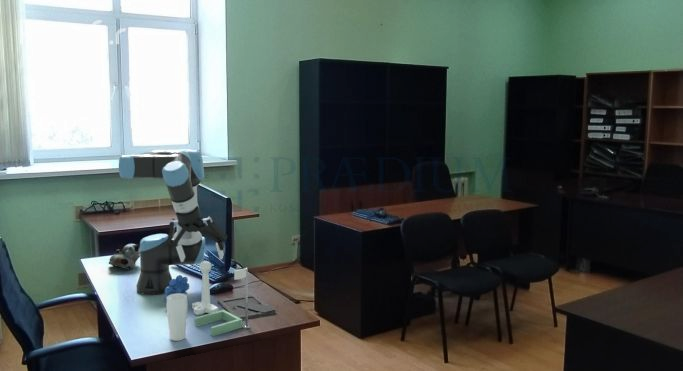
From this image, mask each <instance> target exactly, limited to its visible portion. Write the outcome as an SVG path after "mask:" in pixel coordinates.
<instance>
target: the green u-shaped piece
mask: <svg viewBox="0 0 683 371" xmlns="http://www.w3.org/2000/svg"><path fill="white" fill-rule="evenodd" d="M221 320H224V321H226V322H223V323H219V324H217V325H213V326H210V336H212V337H215V336H218V335H222V334H224V333H228V332H231V331H235V330H238V329H241V328H243V320H242V319H241V318H239V317H237V316H235V315H233V314H231V313H229V312H227V311H225V310H224V309H221V310H218V311H217V312H214V313H210V314H209V313H207V314H206V313H205V314H202V315H198V316H196V317H194V326H195V327H199V326H203V325H207V324H211V323H214V322H218V321H221Z"/></svg>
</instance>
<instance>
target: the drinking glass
mask: <svg viewBox="0 0 683 371" xmlns="http://www.w3.org/2000/svg"><path fill="white" fill-rule="evenodd" d="M166 313H167V323H168V330H169V332H168V333H169V334H168V335H169V339H170V340H171V341H175V342H177V341H178V342H181V341H183V340H185V338H186V336H187V333H186V331H187V318H188V317H187V316H188V294H187V295H185V294H181V293H177V294H171V295H169V296H167V302H166Z"/></svg>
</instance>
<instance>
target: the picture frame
mask: <svg viewBox="0 0 683 371" xmlns="http://www.w3.org/2000/svg"><path fill="white" fill-rule="evenodd" d="M216 303H217V304H218V305H219V306H220V307H221V308H222V310H225V311H227V312H229V313H231V314H233V315H235V316H237V317H239V318H241V319H242V321H243V320H245V295H242V296H237V297H232V298H231V297H229V298H224V299H218V300H217V302H216ZM275 314H276V309H275V308H274V307H273V306H271V305H268V303H266V302H265V301H264V300H263V299H261V298H260V297H259V296H257V295H256V294H250V295H249V294H248V319H251V318H253V319H254V318H257V317H263V316H268V315H275Z"/></svg>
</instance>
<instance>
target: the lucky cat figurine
mask: <svg viewBox="0 0 683 371" xmlns="http://www.w3.org/2000/svg"><path fill="white" fill-rule="evenodd" d="M139 250H140V243H139V244H138V243H137V244H135V243H128V244H126V245H124V246H123V248H122V251H120V249H116V250H115V253H114V254H112V255H111V256H110V258H109V262H108V264H109V265H111V266H112V267H120V268H122V269H125V270H128V271H132V270H134V269H135V268H136V263H137V261H138V260H139V259H140V251H139Z"/></svg>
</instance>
